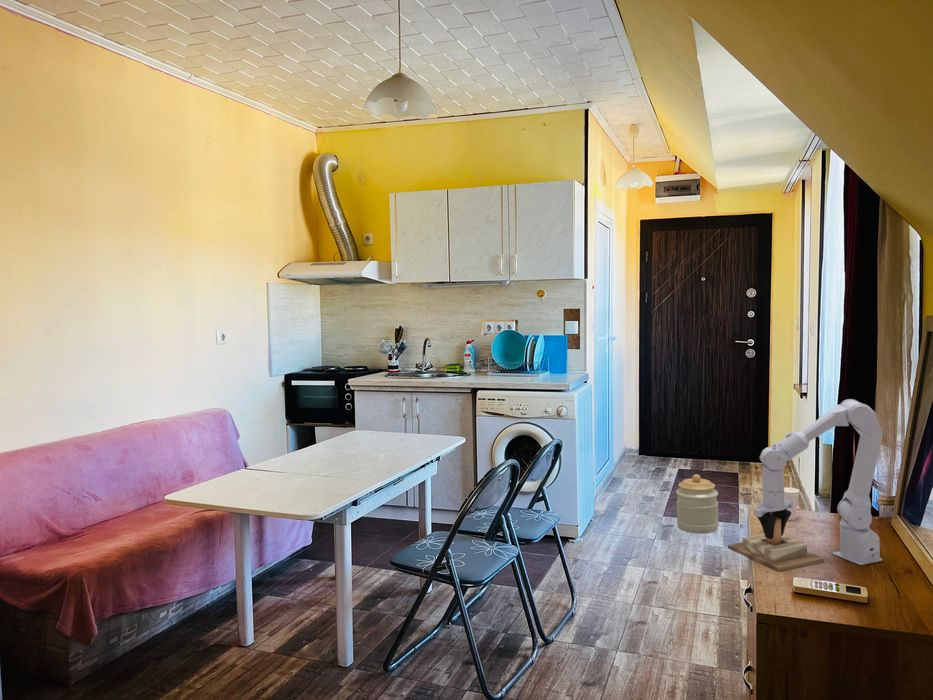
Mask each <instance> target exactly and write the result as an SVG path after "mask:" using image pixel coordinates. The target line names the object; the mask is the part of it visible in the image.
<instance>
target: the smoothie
mask: <svg viewBox="0 0 933 700" xmlns="http://www.w3.org/2000/svg"><path fill="white" fill-rule="evenodd" d="M792 480H793V479H792V476H789V487H788V486H787V487H785V486H784V500H790V501H793V508H787V510H789V511H791V515H790V517H789V518H788V520H787V521H795V520H797V514H798V513H797V511H798V504H799V503H798V502H799V495H800V494H801V490H800V489H798V488H795V487H793V483H792V482H793V481H792Z"/></svg>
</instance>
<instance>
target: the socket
mask: <svg viewBox="0 0 933 700" xmlns="http://www.w3.org/2000/svg"><path fill="white" fill-rule="evenodd" d="M727 549H728V550H730V551H733V552H736V554H739V555H742V556H743V557H746V558H748V559H749V560H752V561H754V562H756V563H759V564H762V565H763V566H766V567H767V568H769V569H772V570H774V571H777V572H783V571H788V570H793V569H797V568H802V567H807V566H811V565H815V564H821V563H825V558H824V557H823V556H819V555H817V554H815V553H812V552H810V551H808V544H807V543H805V542H802V541H799V540H797V539H794V538H792V537H789V536H786V535H785V534H783V536H781V544H780V545H775V546H773V545H771V544H769V543H766V537H765V534H764V533H763V534H756V535H751V536H747V537H743V538H742V542H735V543H731V544H727Z"/></svg>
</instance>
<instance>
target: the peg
mask: <svg viewBox="0 0 933 700" xmlns="http://www.w3.org/2000/svg"><path fill="white" fill-rule="evenodd" d="M766 543H769V544H771V545H773V546H775V545H780V544H781V519H780V518H777V519H776V522H775V526H774V536H773V539H769V538H766Z"/></svg>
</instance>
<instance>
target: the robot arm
mask: <svg viewBox="0 0 933 700" xmlns="http://www.w3.org/2000/svg"><path fill="white" fill-rule="evenodd" d="M849 424H850V425H851V426H852V427H853V428H854V430H855V431H856V432H857V433H858V434H859V440H858V444H857V449H856V454H855V457H854V458H855V459H854V462H853V467H852V472H851V476H850V481H849V484H848V489H847V490H846V491H844V493H843V497H842V499H841V500H840V501H839V502H838V504H837V508H836V509H837V513H838V515H839V517H841V520H840V521H839V551H834V552H832V555H833V556H836V557H839V558H841V559H844V560H846V561H848V562H851V563H854V564H857V565H859V566H864V565H869V564H873V563H878V562H882V561H883V559H882V558H881V556H880V554H881V553H880V552H881V551H880V550H881V542H880V541H881V539H880V536H879V535H878V533H876V532H875V531H873V530H872V529H871V528H870V525H871V524H872V521H873V516H872V513H871V512H872V510H871V508H872V502H871V497H870V494H871V489H872V484H873V481H874V475H875V471H876V467H877V462H878V459H879V454H880V449H881V445H882V442H883V441H882V440H883V435H884V434H883V429H882V428H881V425H880V422H879V420H878V414H877V413H876V412H875V410H874V409H872V408H871V406H869V405H868V404H865V403H862V402H860V401H858V400H856V399H853V398H848V399H845V400H842V402H841V403H840V404H836V405H834V406H833V407H832V408H830V409H829V410H828V411H827V412H826V413H824V414H823V415H822V416H820V417H819V418H817V419H816V420H815V421H813V422H812V423H811V424H810V425H808V426H807V427H806V428H804V429H803V430H801V431H796V430H794V431H792V432H790V431H788V432H786V433H785V437H784V438H782V439H780V440H778V441H777V442H776V443H775V442H773V443H771V446H767V447H765V448H764V449H762V451H761V453H760V455H759V460H760V462H761V463H762V473H761V474H762V475H761V477H762V478H761V479H762V481H761V482H762V484H761V486H762V501H760V502H759V506H757V507H755V508H753V516H754V517H757V519H758V521H759V522H760V525H761V527H762V530H763V534H765V537H766V538H769V539H773V536H774V526H775V522H776V519H777V518H780V519H781V536H783V535H784V532H785V529H786V525H787V522H788V521H789V520H788V518H789V517H790V515H791V511H789V510H787V508H793V501H790V500H784V488H785V474H784V468H785V467H786V465H787V464H788V463H787V462H788V461H791V460H792V459H793V458H795V457H797V456H798V455H799V454H801V453H802V452H804V451H805V450H807V449H808V448H809V445H810V442H811V441H812V440H814V439H815V438H817V437H819V436H821V435H822V434H824V433H825V432H828V431H829V430H831V429H833V428H835V427H849V426H850V425H849Z"/></svg>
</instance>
